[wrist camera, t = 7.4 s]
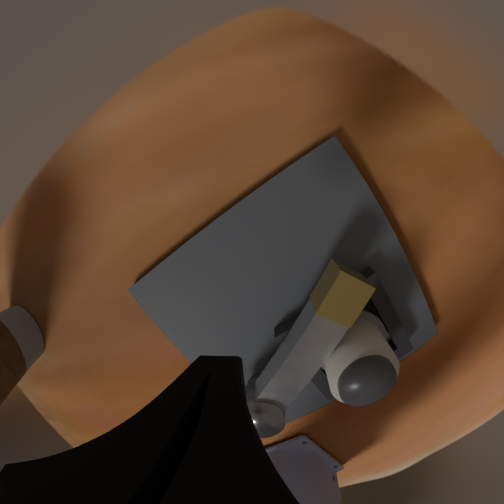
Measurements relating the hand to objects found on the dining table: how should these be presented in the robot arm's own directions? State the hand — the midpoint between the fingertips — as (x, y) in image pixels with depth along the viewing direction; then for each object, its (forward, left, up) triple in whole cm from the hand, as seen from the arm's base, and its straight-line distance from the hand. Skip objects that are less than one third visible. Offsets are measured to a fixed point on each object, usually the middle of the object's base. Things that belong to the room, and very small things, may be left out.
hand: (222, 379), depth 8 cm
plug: (-7, -3, -9) cm, 12 cm away
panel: (-4, -1, -9) cm, 10 cm away
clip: (-5, 0, -7) cm, 9 cm away
